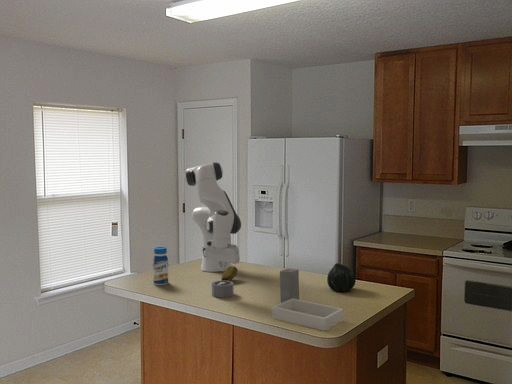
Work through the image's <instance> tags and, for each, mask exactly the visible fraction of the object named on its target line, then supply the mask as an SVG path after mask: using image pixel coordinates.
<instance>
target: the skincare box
mask: <svg viewBox="0 0 512 384" xmlns="http://www.w3.org/2000/svg"><path fill="white" fill-rule="evenodd" d="M299 271H300V270H299V269H296V268H285V269H282V270H280V271H279V290H280V292H279V294H280V298H279V299H280V303H283V302H285V301H287V300H290V299H292V298H293V299H298V300H300V284H299V283H300V282H299V281H300V279H299Z"/></svg>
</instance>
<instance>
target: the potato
mask: <svg viewBox="0 0 512 384" xmlns="http://www.w3.org/2000/svg"><path fill="white" fill-rule="evenodd" d="M237 273H238V268H237V267H234V266H230V267H228V268H227V269H226V271H223V274H222V276H221V278H220V281H222V280H223V281H232V280H234V278H235V276H237Z"/></svg>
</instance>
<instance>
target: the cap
mask: <svg viewBox="0 0 512 384" xmlns="http://www.w3.org/2000/svg"><path fill="white" fill-rule="evenodd" d="M228 284H229V283H227V282H219V283H217V285H228Z"/></svg>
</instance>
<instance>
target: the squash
mask: <svg viewBox="0 0 512 384" xmlns="http://www.w3.org/2000/svg"><path fill="white" fill-rule="evenodd" d="M326 279H327V281H326V282H327V285H328V287H329V288H330V289H331V290H332V291H336V292H338V293H341V292H343V293H347V292H348V291H351V290H352V289H353V288H354V287H355V285H356V275H355V273H354V271H353V270H352V269H350V268H349V267H348V266H346V265H345V264H344V265H343V264H342V263H335V264H334V265H333V266H332V268H331V269H330V270H329V272H328V274H327V278H326Z"/></svg>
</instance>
